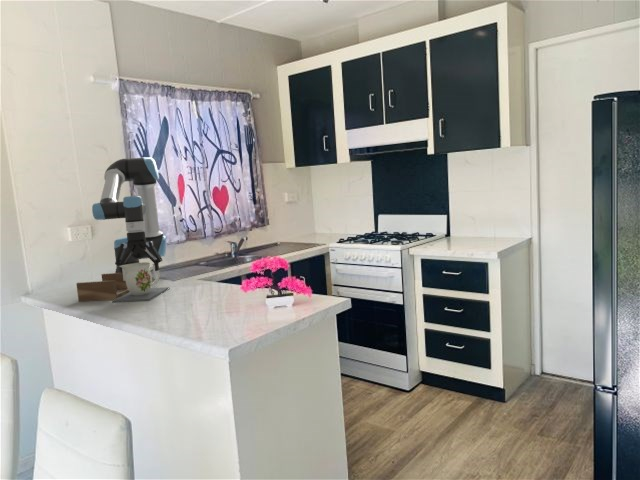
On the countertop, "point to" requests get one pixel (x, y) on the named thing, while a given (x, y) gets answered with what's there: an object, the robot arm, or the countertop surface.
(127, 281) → the pitcher
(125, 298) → the rubber mat
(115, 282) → the walnut cradle
